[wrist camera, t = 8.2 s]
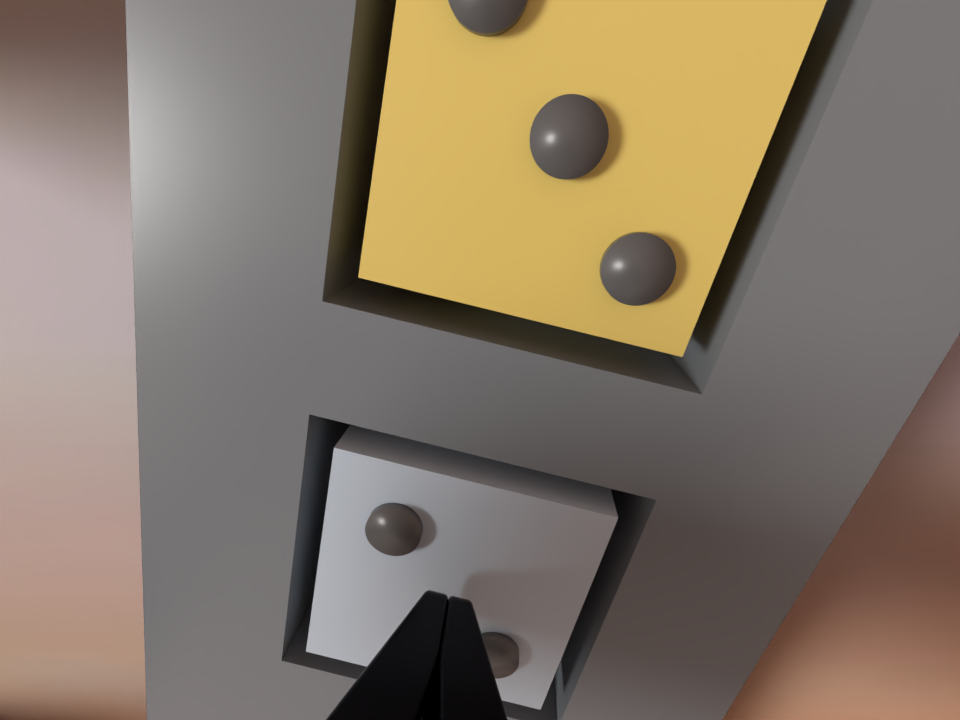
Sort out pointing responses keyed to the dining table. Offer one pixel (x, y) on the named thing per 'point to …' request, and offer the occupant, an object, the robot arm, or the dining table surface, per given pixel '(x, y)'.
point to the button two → (455, 553)
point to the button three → (576, 153)
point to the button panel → (513, 357)
